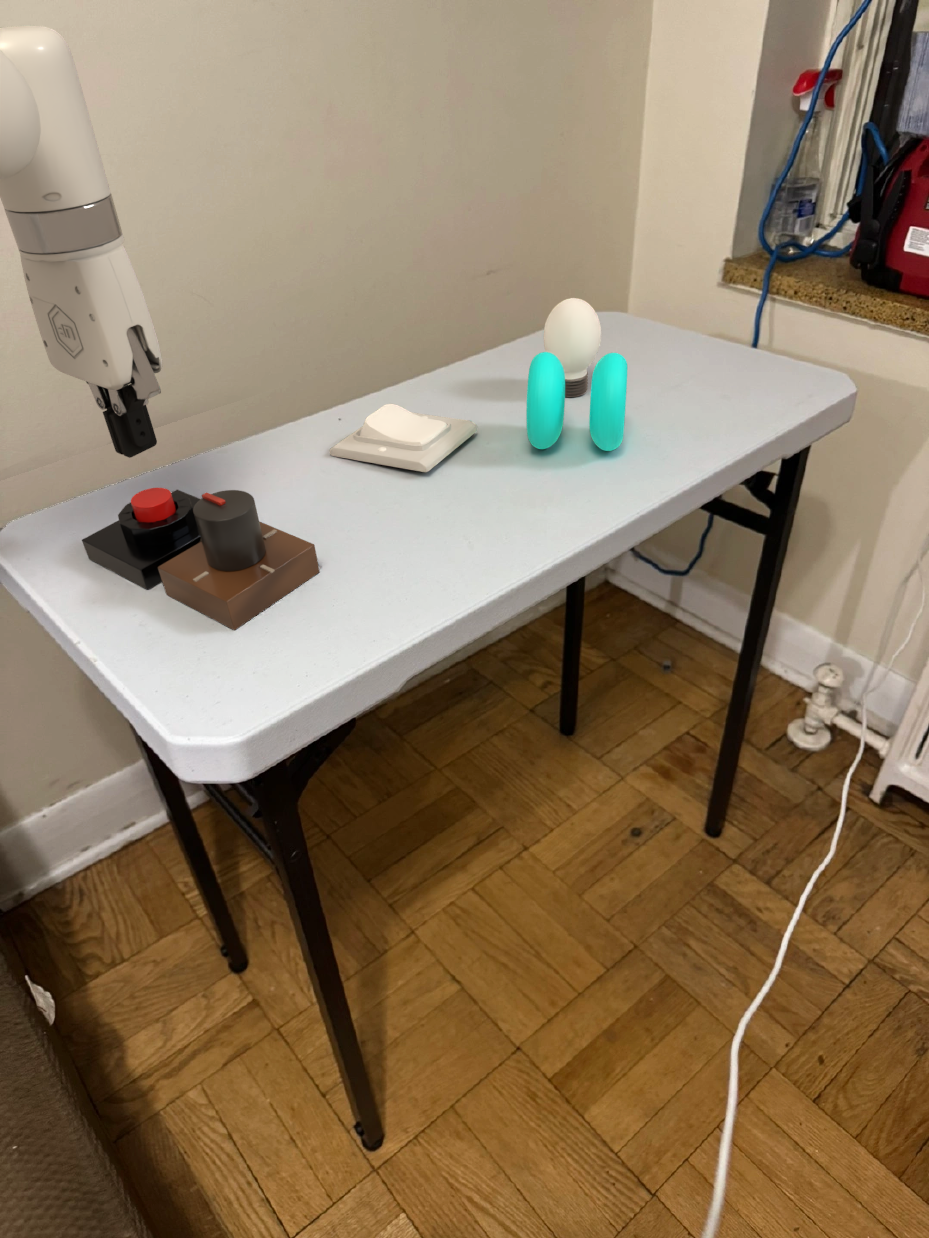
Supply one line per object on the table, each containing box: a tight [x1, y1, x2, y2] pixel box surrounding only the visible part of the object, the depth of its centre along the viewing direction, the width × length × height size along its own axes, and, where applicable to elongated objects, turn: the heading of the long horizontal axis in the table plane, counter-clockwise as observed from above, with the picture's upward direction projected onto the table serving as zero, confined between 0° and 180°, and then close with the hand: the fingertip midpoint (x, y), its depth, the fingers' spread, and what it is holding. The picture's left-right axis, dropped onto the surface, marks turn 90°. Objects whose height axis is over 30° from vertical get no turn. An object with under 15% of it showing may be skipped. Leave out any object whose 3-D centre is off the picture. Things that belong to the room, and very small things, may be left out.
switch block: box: [81, 489, 202, 591], centre depth 81 cm, size 11×9×4 cm
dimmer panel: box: [158, 520, 320, 631], centre depth 76 cm, size 10×9×3 cm
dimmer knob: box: [193, 489, 266, 571], centre depth 73 cm, size 5×5×5 cm
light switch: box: [329, 402, 478, 473], centre depth 95 cm, size 11×4×13 cm
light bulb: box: [543, 297, 602, 398], centre depth 102 cm, size 7×7×11 cm
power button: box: [130, 487, 176, 522], centre depth 79 cm, size 4×4×2 cm
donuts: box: [525, 351, 628, 452], centre depth 91 cm, size 10×10×10 cm
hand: (137, 449), depth 76 cm, fingers closed
